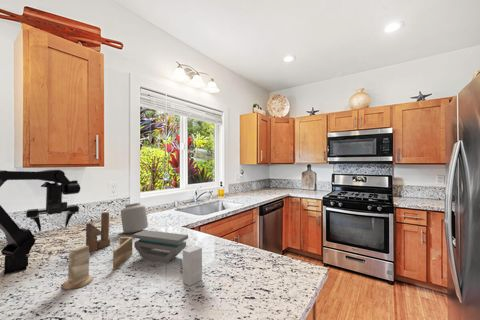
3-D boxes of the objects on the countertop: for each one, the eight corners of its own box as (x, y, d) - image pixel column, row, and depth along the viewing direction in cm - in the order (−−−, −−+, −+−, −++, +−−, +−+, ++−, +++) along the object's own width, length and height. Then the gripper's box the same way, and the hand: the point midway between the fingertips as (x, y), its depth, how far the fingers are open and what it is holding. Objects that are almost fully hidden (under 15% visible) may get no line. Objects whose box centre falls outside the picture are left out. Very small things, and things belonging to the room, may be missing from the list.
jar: (112, 233, 140) (113, 193, 140) (132, 227, 153) (133, 191, 154) (134, 237, 132) (134, 195, 133) (152, 230, 146) (153, 192, 146)
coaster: (63, 292, 74) (63, 290, 74) (60, 282, 80) (60, 280, 80) (95, 282, 80) (95, 281, 80) (90, 274, 87) (90, 272, 87)
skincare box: (195, 276, 85) (195, 245, 86) (202, 279, 83) (202, 247, 83) (181, 282, 81) (182, 249, 81) (189, 286, 78) (189, 252, 78)
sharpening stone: (187, 258, 102) (188, 235, 102) (178, 266, 94) (178, 240, 94) (144, 251, 110) (144, 229, 110) (132, 258, 102) (132, 234, 102)
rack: (100, 270, 90) (100, 250, 90) (120, 253, 107) (120, 237, 107) (115, 270, 90) (116, 250, 90) (133, 253, 107) (133, 236, 108)
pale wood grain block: (68, 283, 79) (68, 249, 79) (81, 276, 84) (82, 245, 84) (75, 285, 78) (75, 250, 78) (88, 278, 82) (89, 246, 83)
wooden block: (85, 251, 110) (86, 215, 110) (105, 244, 120) (106, 211, 120) (90, 252, 108) (91, 216, 109) (110, 245, 118) (111, 211, 119)
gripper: (26, 200, 91) (25, 237, 91) (81, 195, 104) (80, 228, 104) (26, 197, 99) (25, 231, 99) (77, 193, 112) (76, 224, 112)
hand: (53, 229), depth 103 cm, fingers open, 9 cm apart
